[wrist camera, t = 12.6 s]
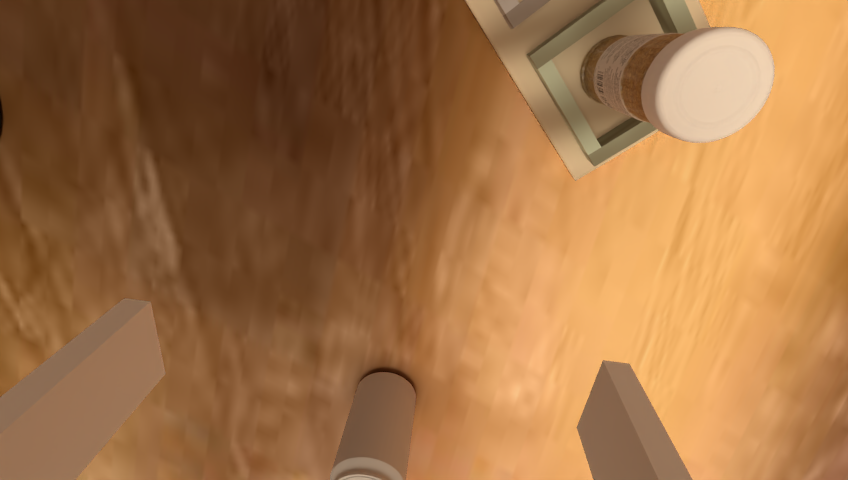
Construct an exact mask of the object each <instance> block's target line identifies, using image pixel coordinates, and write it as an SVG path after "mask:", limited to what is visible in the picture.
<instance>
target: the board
mask: <svg viewBox="0 0 848 480" xmlns="http://www.w3.org/2000/svg"><path fill="white" fill-rule="evenodd" d="M465 2H466V4H467V5H468V7H469V9H470V10H471V12H472V14H473V15H474V17H475V18H476V20H477V22H478V23H479V25H480V27H481V28H482V30H483V32H484V33H485V35H486V36H487V38H488V40H489V41H490V43H491V45H492V46H493V48H494V50H495V51H496V53H497V55H498V56H499V58H500V59H501V61H502V63H503V64H504V66H505V68H506V69H507V71H508V73H509V74H510V76H511V77H512V79H513V81H514V82H515V84H516V86H517V87H518V89H519V91H520V92H521V94H522V96H523V97H524V99H525V100H526V102H527V104H528V105H529V107H530V109H531V110H532V112H533V114H534V115H535V117H536V118H537V120H538V122H539V123H540V125H541V127H542V128H543V130H544V132H545V133H546V135H547V136H548V138H549V140H550V141H551V143H552V145H553V146H554V148H555V150H556V151H557V153H558V155H559V156H560V158H561V159H562V161H563V163H564V164H565V166H566V168H567V169H568V171H569V173H570V174H571V176H572V177H573V178H574V180H575V181H576V180H578V179H580V178H581V177H583V176H585V175H586V174H588V173H590V172H591V171H593V170H595V169H596V168H598V167H600V166H601V165H603V164H605V163H606V162H608V161H610V160H611V159H613V158H615V157H616V156H618V155H620V154H621V153H623V152H625V151H626V150H628V149H630V148H631V147H633V146H635V145H636V144H638V143H640V142H641V141H643V140H645V139H646V138H648V137H650V136H651V135H653V134H655V133H656V132H658V131H659V130H658V129H657V128H655V127H654V126H653V125H652V124H651V123H649V122H643V121H640V120H637V119H635V118H632V117H630V116H628V115H625V114H623V113H621V112H619V111H616V110H614V109H612V108H610V107H608V106H606V105H603V104H599V103H597V102H595V101H594V100H592V99H590V98H589V97H588V95H587V94H586V93H585V91H584V90H583V87H582V83H581V67H582V64H583V61H584V59H585V57H586V55H587V54H588V52H589V51H590V50H591V48H592V47H593V46H594V45H596V44H597V43H598V42H600V41H601V40H603V39H605V38H607V37H610V36H615V35H626V36H631V35H644V34H661V33H682V34H685V33H687V32H690V31H693V30H697V29H701V28H711V27H710V25H709V23H708V20H707V18H706V16H705V13H704V11H703V9H702V6H701V4H700V2H699V0H465Z"/></svg>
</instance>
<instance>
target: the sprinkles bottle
mask: <svg viewBox="0 0 848 480" xmlns="http://www.w3.org/2000/svg"><path fill="white" fill-rule="evenodd" d="M773 80H774V61H773V57H772V54H771V52H770V50H769V48H768V46H767V45H766V44H765V42H764V41H763V40H762V39H761V38H760V37H758V36H757V35H756V34H754V33H752V32H750V31H748V30H745V29H741V28H735V27H711V28H701V29H697V30H693V31H690V32H687V33H685V34H682V33H661V34H644V35H631V36H626V35H615V36H610V37H607V38H605V39H603V40H601V41H600V42H598V43H597V44H596V45H594V46H593V47H592V48H591V50H590V51H589V52H588V54H587V55H586V57H585V59H584V61H583V64H582V67H581V83H582V87H583V90H584V91H585V93H586V94H587V95H588V97H589V98H590V99H592V100H594V101H595V102H597V103H599V104H603V105H606V106H608V107H610V108H612V109H614V110H616V111H619V112H621V113H623V114H625V115H628V116H630V117H632V118H635V119H637V120H640V121H643V122H649V123H651V124H652V125H653V126H654V127H655V128H657V129H658V130H659V131H661V132H663V133H665V134H667V135H669V136H672V137H674V138H677V139H680V140H683V141H687V142H692V143H706V142H712V141H717V140H720V139H723V138H725V137H728V136H730V135H732V134H734V133H735V132H737V131H739V130H740V129H742V128H743V127H744V126H745V125H747V124H748V123H749V122H750V121H751V120H752V119H753V118H754V117H755V116H756V115H757V114H758V112H759V111H760V110H761V108H762V107H763V106H764V104H765V102H766V100H767V98H768V96H769V94H770V92H771V89H772V86H773Z"/></svg>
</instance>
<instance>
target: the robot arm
mask: <svg viewBox="0 0 848 480" xmlns="http://www.w3.org/2000/svg"><path fill="white" fill-rule="evenodd" d="M0 126H1V115H0ZM164 375H165V369H164V364H163V359H162V354H161V350H160V345H159V340H158V335H157V330H156V325H155V320H154V316H153V311H152V306H151V302H149V301H142V300H134V299H126V298H124V299H123V300H122V301H120V302H119V303H118V304H117V305H115V306H114V307H113V308H112V309H110V310H109V311H108V312H106V313H105V314H104V315H103V316H101V317H100V318H99V319H98V320H96V321H95V322H94V323H93V324H91V325H90V326H89V327H88V328H86V329H85V330H84V331H83V332H81V333H80V334H79V335H78V336H76V337H75V338H74V339H73V340H71V341H70V342H69V343H68V344H66V345H65V346H64V347H63V348H61V349H60V350H59V351H58V352H56V353H55V354H54V355H53V356H51V357H50V358H49V359H48V360H46V361H45V362H44V363H43V364H41V365H40V366H39V367H38V368H36V369H35V370H34V371H33V372H31V373H30V374H29V375H28V376H26V377H25V378H24V379H23V380H21V381H20V382H19V383H18V384H16V385H15V386H14V387H13V388H11V389H10V390H9V391H8V392H6V393H5V394H4V395H2V396H1V397H0V480H76V478H77V477H78V476H79V475H80V474H81V472H82V471H83V470H84V469H85V468H86V467H87V465H88V464H89V463H90V462H91V461H92V460H93V458H94V457H95V456H96V455H97V454H98V452H99V451H100V450H101V449H102V448H103V447H104V445H105V444H106V443H107V442H108V441H109V440H110V438H111V437H112V436H113V435H114V434H115V432H116V431H117V430H118V429H119V428H120V427H121V425H122V424H123V423H124V422H125V421H126V420H127V418H128V417H129V416H130V415H131V414H132V412H133V411H134V410H135V409H136V408H137V407H138V405H139V404H140V403H141V402H142V401H143V400H144V398H145V397H146V396H147V395H148V394H149V392H150V391H151V390H152V389H153V388H154V387H155V385H156V384H157V383H158V382H159V381H160V380H161V378H162V377H163V376H164ZM577 429H578V433H579V436H580V439H581V442H582V445H583V448H584V451H585V454H586V458H587V461H588V464H589V467H590V470H591V473H592V476H593V479H594V480H692V478H691V476H690V474H689V472H688V471H687V469H686V467H685V465H684V463H683V461H682V460H681V458H680V456H679V454H678V452H677V450H676V448H675V447H674V445H673V443H672V441H671V439H670V437H669V436H668V434H667V432H666V430H665V428H664V426H663V425H662V423H661V421H660V419H659V417H658V415H657V414H656V412H655V410H654V408H653V406H652V404H651V402H650V401H649V399H648V397H647V395H646V393H645V391H644V390H643V388H642V386H641V384H640V382H639V380H638V379H637V377H636V375H635V373H634V371H633V369H632V368H631V366H630V364H627V363H619V362H611V361H604V360H603V362H602V364H601V367H600V369H599V372H598V375H597V377H596V380H595V382H594V385H593V387H592V390H591V392H590V395H589V398H588V400H587V403H586V405H585V408H584V410H583V413H582V416H581V418H580V421H579V423H578V426H577Z"/></svg>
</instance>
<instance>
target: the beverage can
mask: <svg viewBox="0 0 848 480" xmlns="http://www.w3.org/2000/svg"><path fill="white" fill-rule="evenodd" d="M415 404H416V393H415V390H414V388H413V386H412V385H411V384H410V383H409V382H408V381H407V380H406V379H404V378H403V377H401V376H399V375H397V374H394V373H389V372H378V373H373V374H370V375H368V376H366V377H365V378H363V379H362V380H361V382H360V383H359V385H358V387H357V390H356V393H355V396H354V400H353V403H352V406H351V409H350V413H349V416H348V419H347V422H346V426H345V429H344V432H343V435H342V439H341V442H340V445H339V449H338V452H337V455H336V458H335V462H334V465H333V468H332V471H331V475H330V480H406V474H407V466H408V458H409V451H410V443H411V435H412V427H413V420H414V412H415Z"/></svg>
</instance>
